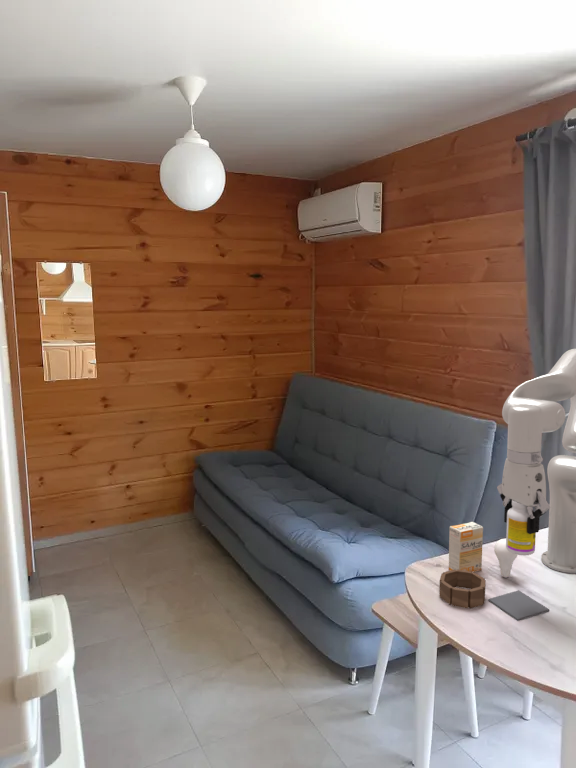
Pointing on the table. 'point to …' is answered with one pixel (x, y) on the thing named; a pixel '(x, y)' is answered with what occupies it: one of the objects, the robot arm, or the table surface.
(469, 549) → the supplement box
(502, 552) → the lightbulb
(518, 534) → the supplement bottle
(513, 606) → the mat
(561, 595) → the table surface
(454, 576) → the ring stand
